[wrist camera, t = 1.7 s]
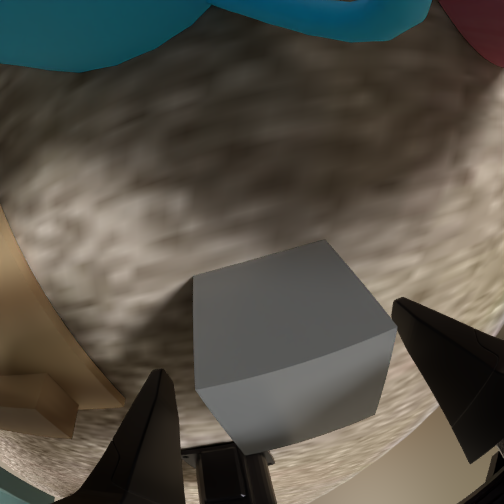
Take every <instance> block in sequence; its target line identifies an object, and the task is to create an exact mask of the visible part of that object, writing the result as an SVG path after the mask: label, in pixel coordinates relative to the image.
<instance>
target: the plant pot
mask: <svg viewBox="0 0 504 504" xmlns="http://www.w3.org/2000/svg"><path fill="white" fill-rule="evenodd" d="M438 1H439V3H440V4H441V6H442V7H443V9H444V10H445V12H446V14H447V15H448V16H449V18H450V19H451V21H452V22H453V23H454V25H455V26H456V28H457V29H458V30H459V32H460V33H461V34H462V35H463V37H464V38H465V39H466V40H467V41H468V42H469V44H470V45H471V46H472V47H473V48H474V49H475V50H476V51H477V52H478V53H479V54H480V55H481V56H483V57H484V58H485V59H487V60H488V61H489V62H491V63H493V64H495V65H497V66H500V67H503V68H504V0H438Z"/></svg>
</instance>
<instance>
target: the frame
mask: <svg viewBox="0 0 504 504" xmlns="http://www.w3.org/2000/svg"><path fill="white" fill-rule="evenodd" d="M124 405H125V398H124V397H123V396H122V395H121V393H120V392H119V391H118V390H117V389H116V388H115V387H114V386H113V385H112V384H111V383H110V381H109V380H108V379H107V378H106V377H105V376H104V375H103V373H102V372H101V371H100V370H99V369H98V368H97V366H96V365H95V364H94V363H93V361H92V360H91V359H90V358H89V357H88V355H87V354H86V353H85V351H84V350H83V349H82V348H81V346H80V345H79V344H78V342H77V341H76V340H75V338H74V337H73V336H72V334H71V333H70V331H69V330H68V329H67V327H66V326H65V324H64V323H63V322H62V320H61V319H60V317H59V316H58V314H57V313H56V311H55V310H54V308H53V306H52V305H51V303H50V302H49V300H48V299H47V297H46V295H45V294H44V292H43V290H42V289H41V287H40V285H39V284H38V282H37V280H36V278H35V277H34V275H33V273H32V271H31V269H30V268H29V266H28V264H27V262H26V260H25V258H24V256H23V254H22V252H21V250H20V248H19V246H18V244H17V242H16V240H15V238H14V235H13V233H12V231H11V229H10V226H9V224H8V222H7V219H6V217H5V215H4V212H3V210H2V207H1V205H0V429H2V430H7V431H12V432H17V433H23V434H30V435H37V436H44V437H54V438H65V439H72V437H73V431H74V426H75V421H76V416H77V412H78V410H86V409H106V408H120V407H124Z"/></svg>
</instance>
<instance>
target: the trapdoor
mask: <svg viewBox="0 0 504 504" xmlns="http://www.w3.org/2000/svg"><path fill="white" fill-rule="evenodd" d="M54 498H55V497H53V496H51V495H49V494H47V493H45V492H43V491H41V490H39V489H37V488H35V487H33V486H32V485H30V484H28V483H26V482H24V481H23V480H21V479H19V478H18V477H16V476H14V475H13V474H11V473H9V472H8V471H6V470H5V469H3V468H1V467H0V504H50V503H53V502H54Z"/></svg>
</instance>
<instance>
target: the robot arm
mask: <svg viewBox="0 0 504 504" xmlns="http://www.w3.org/2000/svg"><path fill="white" fill-rule="evenodd" d="M391 316H392V320H393V322H394V323H395V324H396V325H397V331H398V333H399V335H400V337H401V339H402V341H403V343H404V345H405V347H406V349H407V351H408V353H409V354H410V356H411V357H412V359H413V361H414V362H415V364H416V366H417V367H418V369H419V371H420V372H421V374H422V376H423V377H424V379H425V381H426V382H427V384H428V386H429V387H430V389H431V391H432V393H433V394H434V396H435V398H436V400H437V401H438V403H439V405H440V407H441V409H442V410H443V412H444V414H445V416H446V418H447V420H448V421H449V424H450V425H451V427H452V429H453V431H454V433H455V435H456V437H457V439H458V441H459V443H460V445H461V447H462V449H463V451H464V453H465V455H466V458H467V460H468V462H469V463H470V464H471V463H473V462H474V461H476V460H477V459H479V458H480V457H481V456H482V455H484V454H485V453H487V452H488V451H489V450H490V449H492V448H493V447H494V446H495V445H496V446H497V447H498V449H499V451H498V452H497V453H496V454H494V455H493V456H492V459H491V463H490V467H489V471H488V475H487V477H486V482H485V483H484V484H483V485H481V486H480V487H479V488H478V489H476V490H475V491H474V492H472V493H471V494H470V495H468V496H467V497H466V498H464V499H463V500H462V501H460V502H459V503H457V504H504V340H501V339H499V338H496V337H493V336H491V335H488V334H486V333H484V332H481V331H479V330H477V329H474V328H473V327H470V326H468V325H466V324H464V323H461V322H459V321H457V320H455V319H453V318H450V317H448V316H446V315H444V314H441V313H439V312H437V311H435V310H432V309H430V308H428V307H425V306H423V305H421V304H419V303H416V302H414V301H412V300H409V299H407V298H405V297H401V298H398V299H396V300H394V302H393V307H392V314H391ZM181 459H182V460H184V461H185V462H187V463H188V464H189V465H191V466H192V467H194V468H195V469H196V475H197V484H198V493H199V502H200V504H277V501H276V497H275V493H274V489H273V485H272V481H271V477H270V473H269V469H268V466H269V465H273V464H275V461H274V458H273V456H272V455H271V453H270V451H269V450H268V451H264V452H260V453H255V454H250V455H245V454H244V453H243V452H242V451H241V450H240V448H239V447H238V446H237V445H236V444H235V443H232V444H226V445H221V446H214V447H208V448H201V449H193V450H184V451H181V447H180V429H179V417H178V410H177V404H176V398H175V391H174V384H173V382H172V380H171V378H170V377H169V376H168V374H167V373H166V371H165V370H164V369H162V368H161V369H155V370H153V371H152V372H151V373H150V375H149V377H148V379H147V380H146V382H145V384H144V385H143V387H142V389H141V390H140V392H139V394H138V396H137V397H136V399H135V401H134V402H133V404H132V406H131V408H130V409H129V411H128V413H127V415H126V416H125V418H124V420H123V421H122V423H121V425H120V427H119V428H118V430H117V432H116V434H115V436H114V437H113V441H111V442H110V444H109V446H108V448H107V449H106V451H105V453H104V454H103V456H102V458H101V459H100V461H99V462H98V464H97V465H96V467H95V468H94V469H93V471H92V472H91V474H90V475H89V476H88V478H87V479H86V481H85V482H84V484H83V485H82V486H81V487H80V489H79V490H78V491H76V492H75V493H74V494H72V495H70V496H68V497H65V498H63V499H60V500H58V501H56V502H53V503H50V504H186V503H185V494H184V484H183V473H182V461H181Z"/></svg>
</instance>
